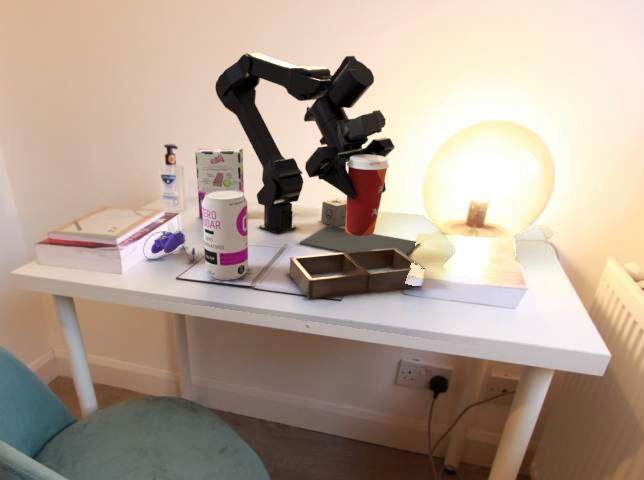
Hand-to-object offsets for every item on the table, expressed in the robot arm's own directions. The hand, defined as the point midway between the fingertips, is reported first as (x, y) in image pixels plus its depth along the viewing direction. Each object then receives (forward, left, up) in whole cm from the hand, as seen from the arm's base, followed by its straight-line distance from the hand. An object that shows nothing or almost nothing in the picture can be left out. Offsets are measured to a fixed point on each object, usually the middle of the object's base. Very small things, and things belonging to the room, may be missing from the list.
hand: (369, 195), depth 93 cm
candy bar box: (-44, -3, -13) cm, 46 cm away
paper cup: (-1, 0, -8) cm, 8 cm away
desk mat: (-7, +7, -13) cm, 16 cm away
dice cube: (-21, +15, -13) cm, 29 cm away
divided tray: (+6, -9, -13) cm, 17 cm away
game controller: (-27, -28, -13) cm, 41 cm away
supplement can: (-13, -25, -13) cm, 31 cm away
